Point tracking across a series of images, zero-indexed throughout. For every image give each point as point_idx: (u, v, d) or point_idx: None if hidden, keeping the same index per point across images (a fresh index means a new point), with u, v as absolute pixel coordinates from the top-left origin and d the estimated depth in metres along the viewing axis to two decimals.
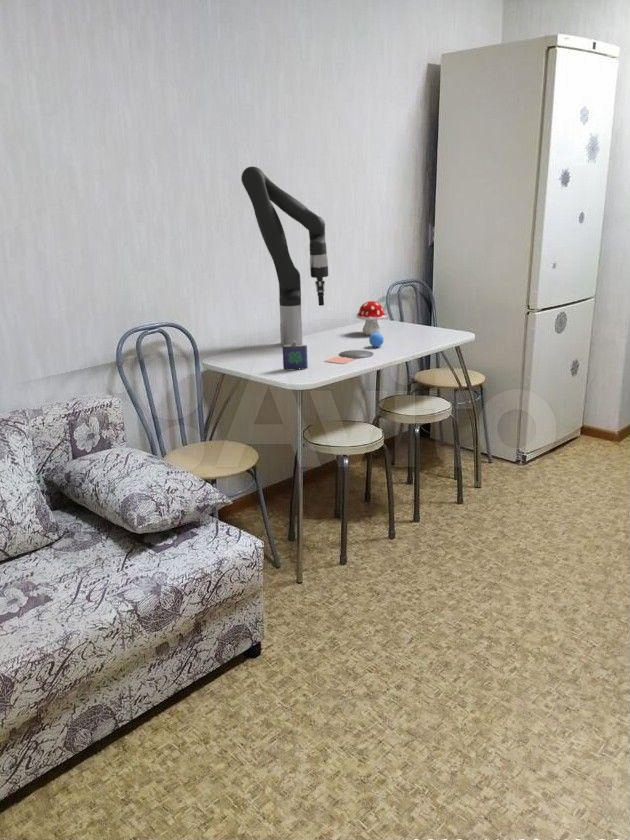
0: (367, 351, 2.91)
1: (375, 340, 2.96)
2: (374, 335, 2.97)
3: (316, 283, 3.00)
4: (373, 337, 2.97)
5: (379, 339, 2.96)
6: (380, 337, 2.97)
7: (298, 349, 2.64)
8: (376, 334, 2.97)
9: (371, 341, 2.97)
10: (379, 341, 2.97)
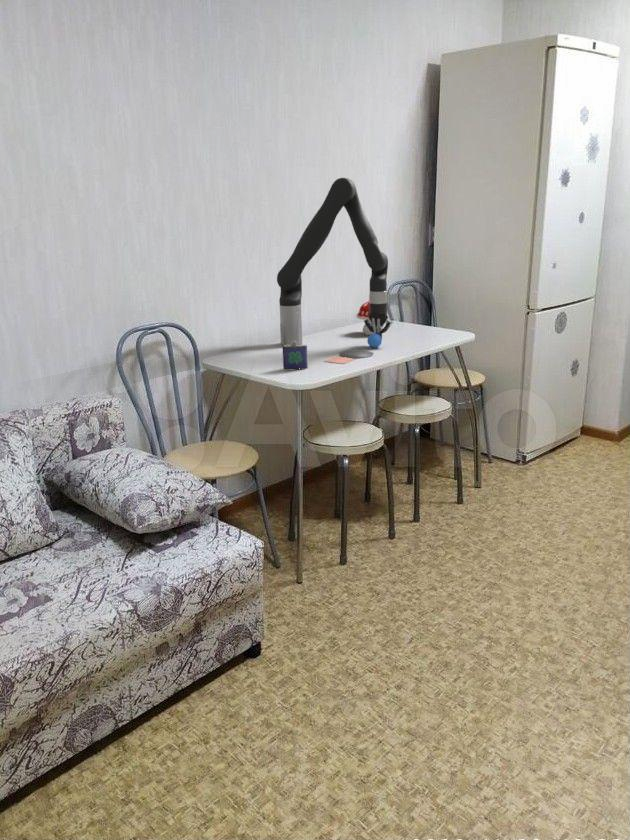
0: (367, 351, 2.91)
1: (373, 343, 2.95)
2: (371, 338, 2.95)
3: None
4: (371, 341, 2.95)
5: (377, 342, 2.95)
6: (378, 339, 2.95)
7: (298, 349, 2.64)
8: (373, 337, 2.95)
9: (369, 344, 2.96)
10: (378, 344, 2.95)
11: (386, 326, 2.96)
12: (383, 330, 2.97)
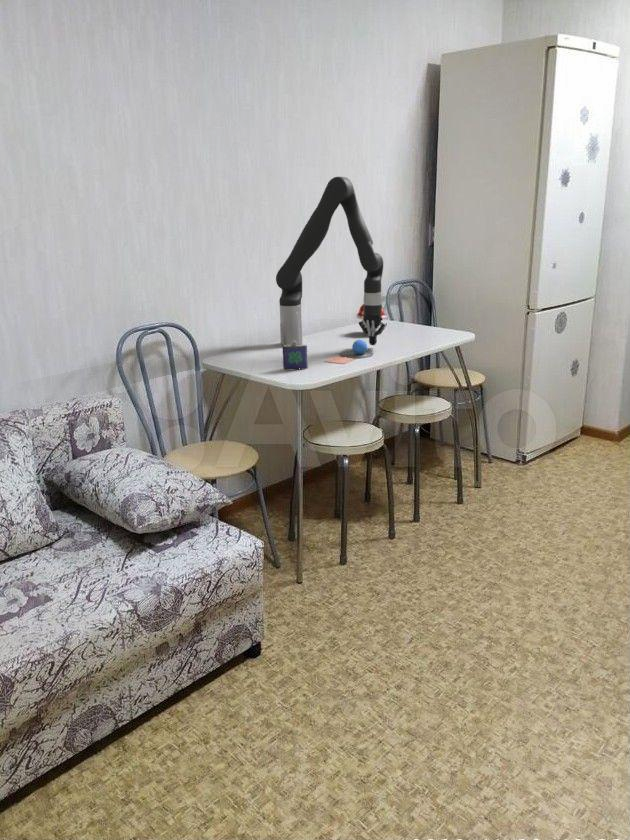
0: (367, 351, 2.91)
1: (361, 340, 2.85)
2: None
3: None
4: None
5: (365, 342, 2.85)
6: (366, 344, 2.86)
7: (298, 349, 2.64)
8: None
9: (357, 340, 2.86)
10: (364, 343, 2.84)
11: (380, 328, 2.91)
12: (377, 332, 2.93)
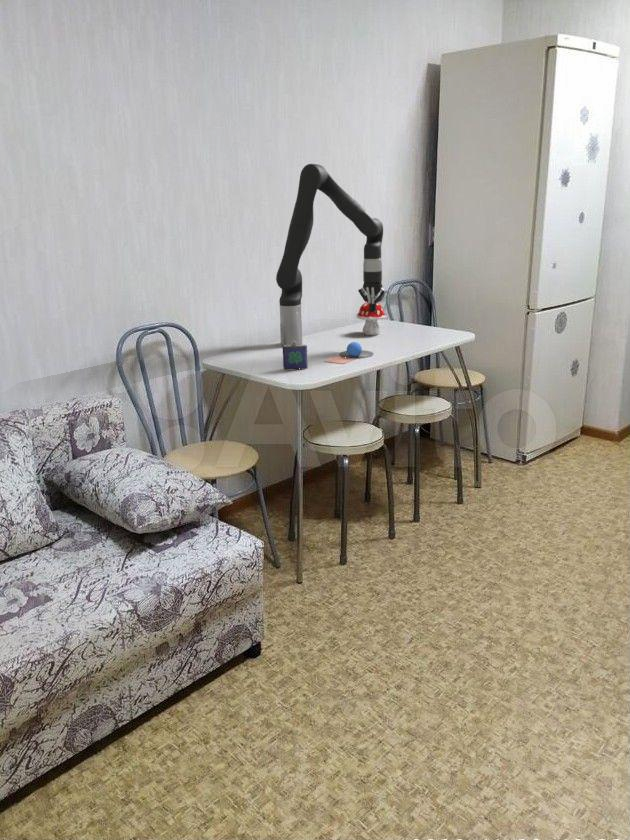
0: (367, 351, 2.91)
1: (352, 350, 2.80)
2: (351, 345, 2.80)
3: None
4: (350, 347, 2.80)
5: (356, 349, 2.79)
6: (358, 347, 2.80)
7: (298, 349, 2.64)
8: (353, 344, 2.80)
9: (348, 351, 2.81)
10: (357, 352, 2.80)
11: (380, 295, 2.87)
12: (377, 299, 2.88)
